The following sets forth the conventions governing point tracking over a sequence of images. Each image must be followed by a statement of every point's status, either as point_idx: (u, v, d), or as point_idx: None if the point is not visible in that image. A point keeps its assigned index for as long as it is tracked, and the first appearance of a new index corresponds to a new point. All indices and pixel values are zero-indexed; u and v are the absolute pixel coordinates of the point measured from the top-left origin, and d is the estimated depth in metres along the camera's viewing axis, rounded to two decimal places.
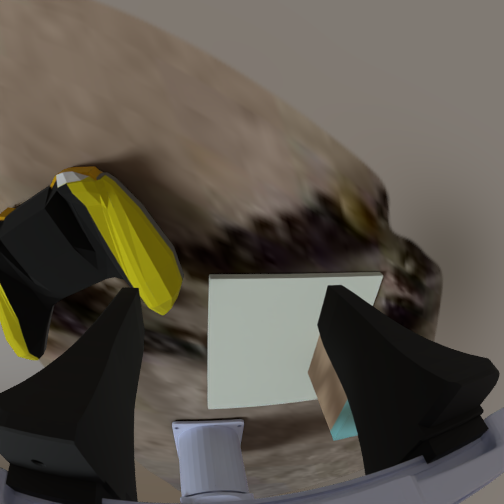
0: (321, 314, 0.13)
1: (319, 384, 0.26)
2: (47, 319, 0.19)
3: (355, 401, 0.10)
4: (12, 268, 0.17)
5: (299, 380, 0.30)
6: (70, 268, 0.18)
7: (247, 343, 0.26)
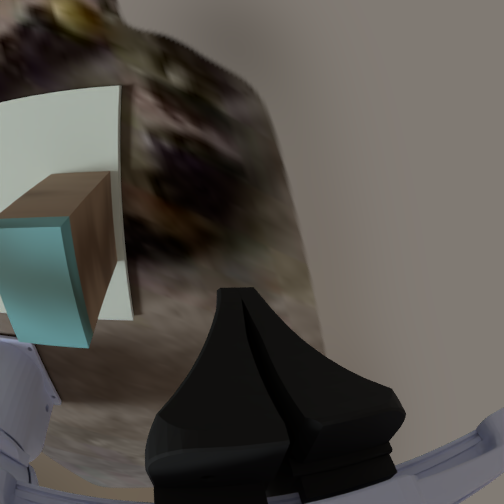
0: None
1: None
2: None
3: None
4: None
5: None
6: None
7: None
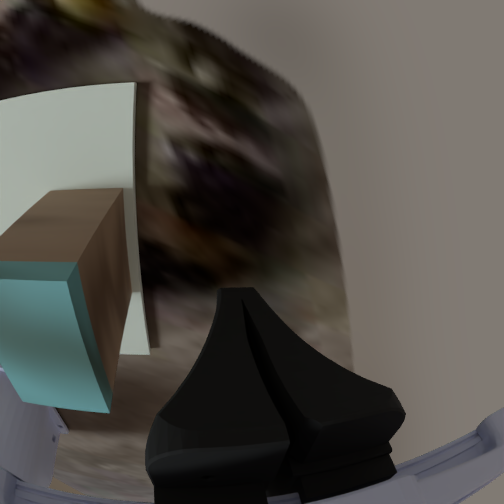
0: None
1: None
2: None
3: None
4: None
5: None
6: None
7: None
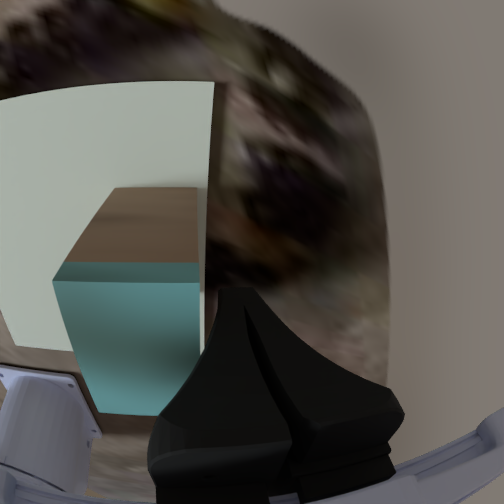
0: None
1: None
2: None
3: None
4: None
5: None
6: None
7: (13, 218, 0.14)
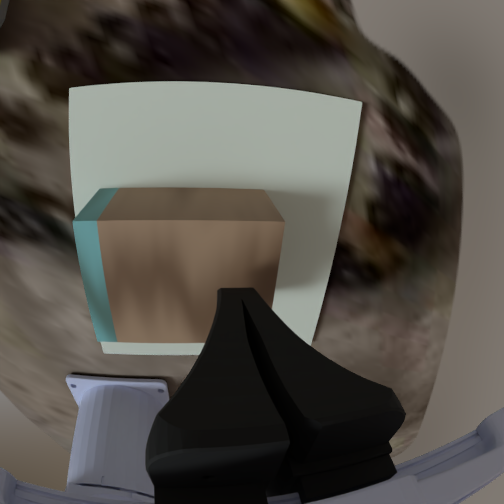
0: None
1: None
2: None
3: None
4: None
5: None
6: None
7: None
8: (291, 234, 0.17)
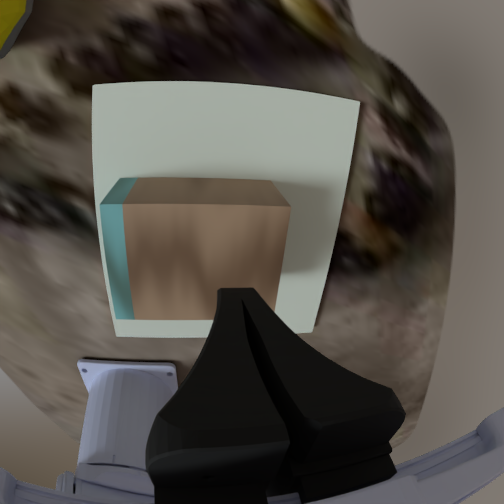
0: None
1: None
2: None
3: None
4: None
5: None
6: None
7: None
8: (295, 221, 0.18)
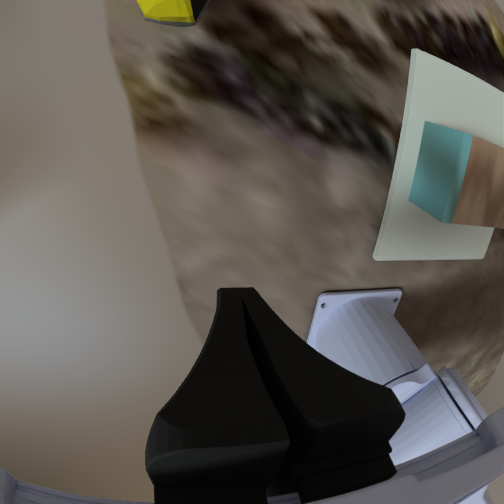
0: None
1: None
2: None
3: None
4: None
5: None
6: None
7: None
8: None
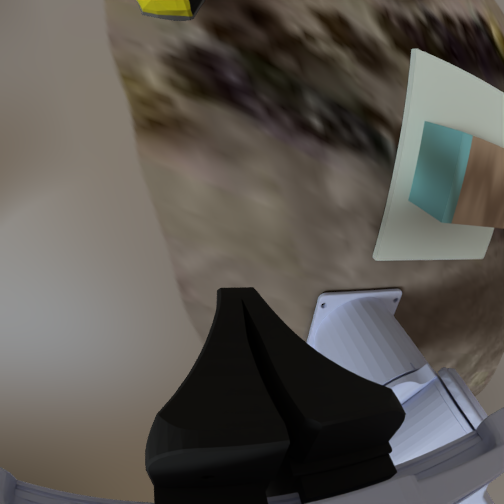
0: None
1: None
2: None
3: None
4: None
5: None
6: None
7: None
8: None
